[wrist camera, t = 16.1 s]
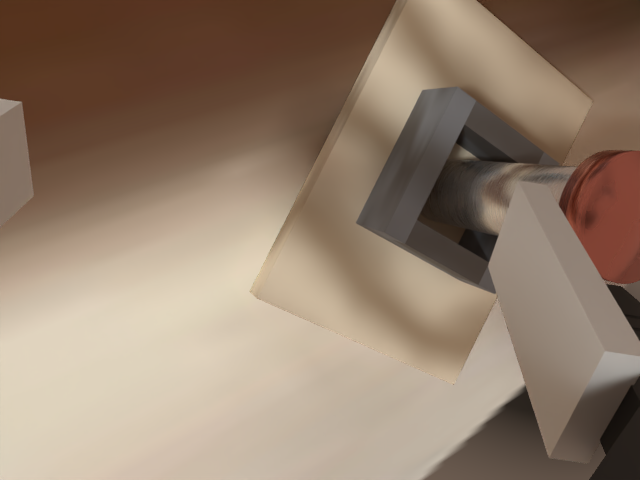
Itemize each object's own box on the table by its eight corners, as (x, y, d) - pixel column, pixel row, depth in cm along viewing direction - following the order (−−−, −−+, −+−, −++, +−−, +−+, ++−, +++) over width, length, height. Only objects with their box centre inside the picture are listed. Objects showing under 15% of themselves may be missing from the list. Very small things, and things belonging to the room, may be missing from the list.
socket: (414, -35, 36) (465, -58, 31) (576, 102, 43) (637, 99, 38) (249, 291, 35) (277, 316, 31) (441, 376, 42) (486, 406, 38)
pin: (430, 128, 36) (627, 124, 24) (490, 174, 39) (698, 193, 26) (387, 207, 36) (563, 247, 23) (450, 249, 38) (641, 304, 26)
